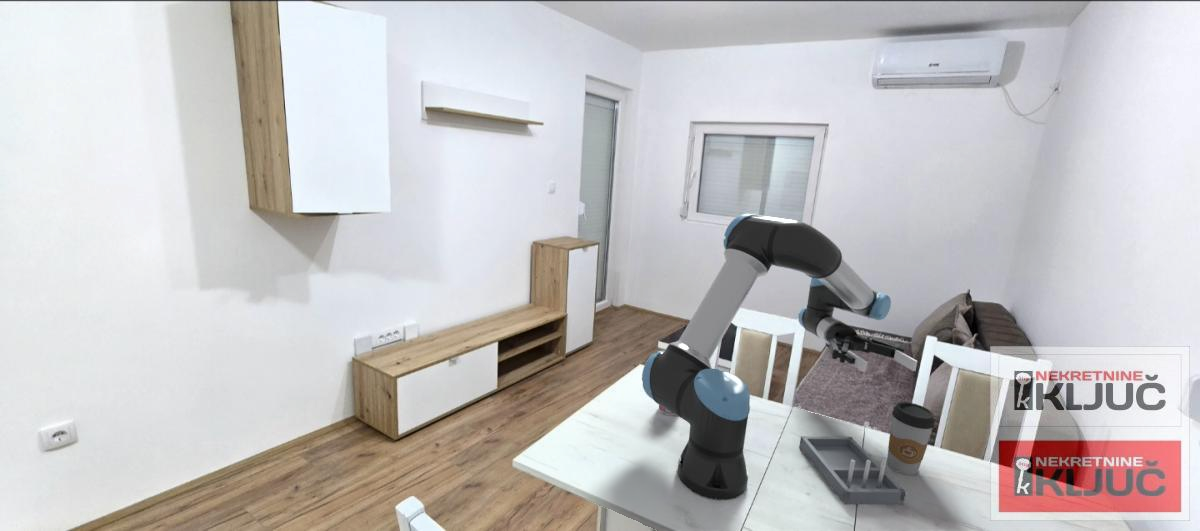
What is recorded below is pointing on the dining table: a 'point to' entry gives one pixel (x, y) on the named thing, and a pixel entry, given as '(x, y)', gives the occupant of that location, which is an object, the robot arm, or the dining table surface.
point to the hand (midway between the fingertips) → (890, 366)
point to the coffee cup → (909, 437)
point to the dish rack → (851, 471)
